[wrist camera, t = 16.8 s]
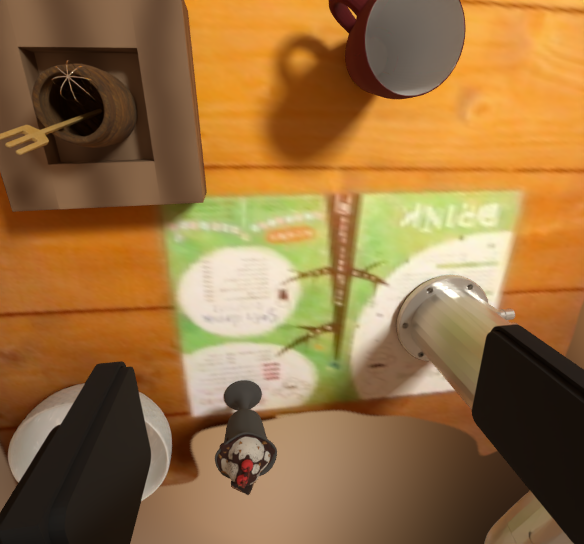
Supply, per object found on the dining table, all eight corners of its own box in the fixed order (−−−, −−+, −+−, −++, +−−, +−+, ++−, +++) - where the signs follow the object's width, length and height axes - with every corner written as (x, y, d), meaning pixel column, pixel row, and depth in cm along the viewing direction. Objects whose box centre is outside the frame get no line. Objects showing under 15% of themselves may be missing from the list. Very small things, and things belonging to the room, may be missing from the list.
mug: (292, 58, 36) (314, 36, 26) (337, -28, 34) (377, -84, 24) (377, 119, 39) (423, 118, 30) (422, 44, 37) (486, 18, 28)
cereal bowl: (10, 383, 44) (-28, 429, 37) (150, 345, 45) (136, 383, 38) (74, 479, 50) (52, 532, 44) (194, 445, 51) (189, 491, 45)
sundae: (241, 365, 48) (246, 464, 34) (277, 392, 50) (296, 493, 36) (206, 398, 49) (198, 506, 35) (244, 422, 51) (249, 532, 37)
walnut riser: (187, 11, 33) (180, -10, 28) (206, 192, 39) (203, 202, 34) (-11, 6, 31) (-58, -17, 26) (42, 199, 37) (12, 211, 32)
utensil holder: (153, 107, 33) (115, 99, 22) (111, 162, 34) (54, 180, 23) (92, 53, 30) (14, 13, 19) (49, 113, 32) (-47, 108, 21)
